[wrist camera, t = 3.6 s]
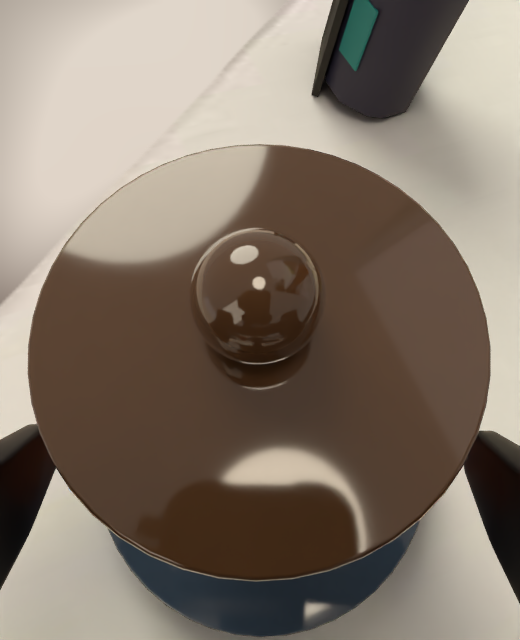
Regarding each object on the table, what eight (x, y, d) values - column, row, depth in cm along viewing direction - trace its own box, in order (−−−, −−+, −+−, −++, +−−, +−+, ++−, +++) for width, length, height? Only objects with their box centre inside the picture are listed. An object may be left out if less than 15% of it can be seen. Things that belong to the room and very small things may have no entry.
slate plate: (330, 710, 14) (336, 731, 13) (41, 501, 17) (22, 501, 16) (463, 387, 19) (478, 378, 17) (215, 258, 21) (212, 243, 20)
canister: (292, 556, 15) (422, 826, 3) (154, 465, 16) (-190, 365, 4) (364, 409, 17) (630, 175, 5) (236, 338, 18) (180, 3, 6)
